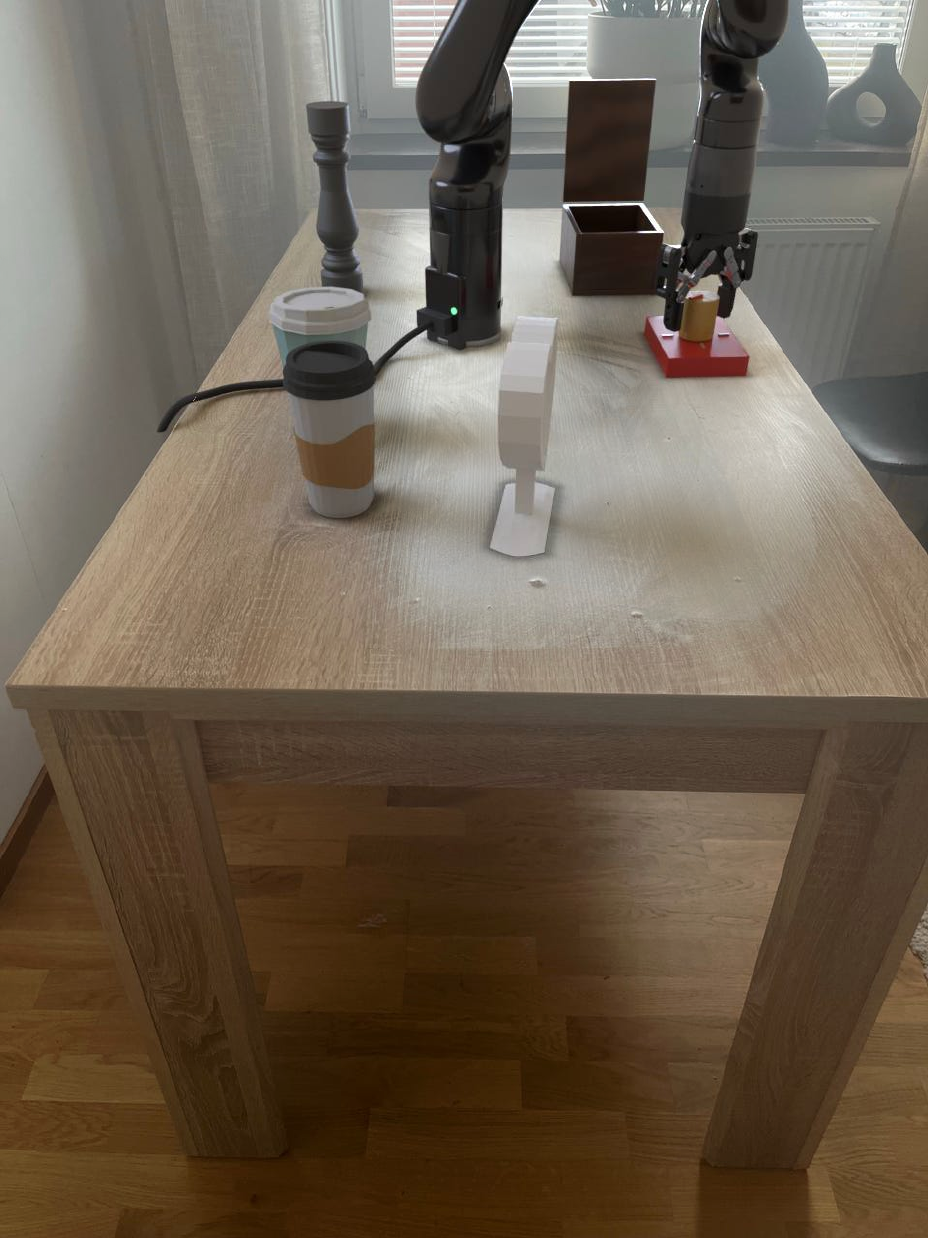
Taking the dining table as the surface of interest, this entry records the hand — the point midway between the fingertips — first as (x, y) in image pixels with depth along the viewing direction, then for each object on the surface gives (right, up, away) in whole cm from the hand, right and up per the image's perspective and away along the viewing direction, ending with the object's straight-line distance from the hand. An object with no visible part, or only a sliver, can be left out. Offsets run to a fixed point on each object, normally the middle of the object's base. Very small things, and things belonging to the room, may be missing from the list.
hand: (697, 322), depth 117 cm
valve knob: (0, -1, +1) cm, 2 cm away
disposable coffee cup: (-44, -16, -13) cm, 49 cm away
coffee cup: (-42, -26, -26) cm, 56 cm away
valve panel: (0, -3, +3) cm, 4 cm away
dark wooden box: (-8, +15, +26) cm, 31 cm away
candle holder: (-48, +11, +21) cm, 53 cm away
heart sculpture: (-24, -28, -28) cm, 46 cm away
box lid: (-8, +34, +21) cm, 41 cm away
